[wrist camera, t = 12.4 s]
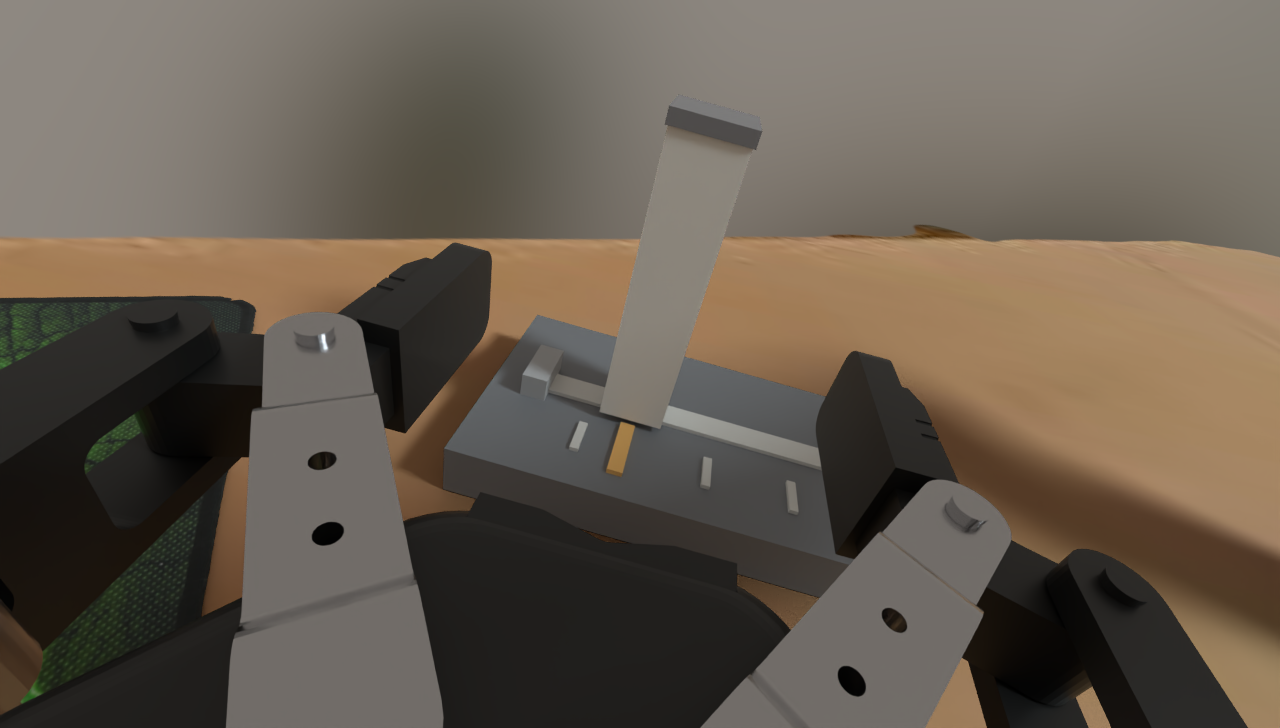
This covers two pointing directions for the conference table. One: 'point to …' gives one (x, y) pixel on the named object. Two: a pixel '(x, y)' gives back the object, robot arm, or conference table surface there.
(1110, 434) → the conference table surface
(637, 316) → the fader
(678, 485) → the console
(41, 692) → the mouse mat
